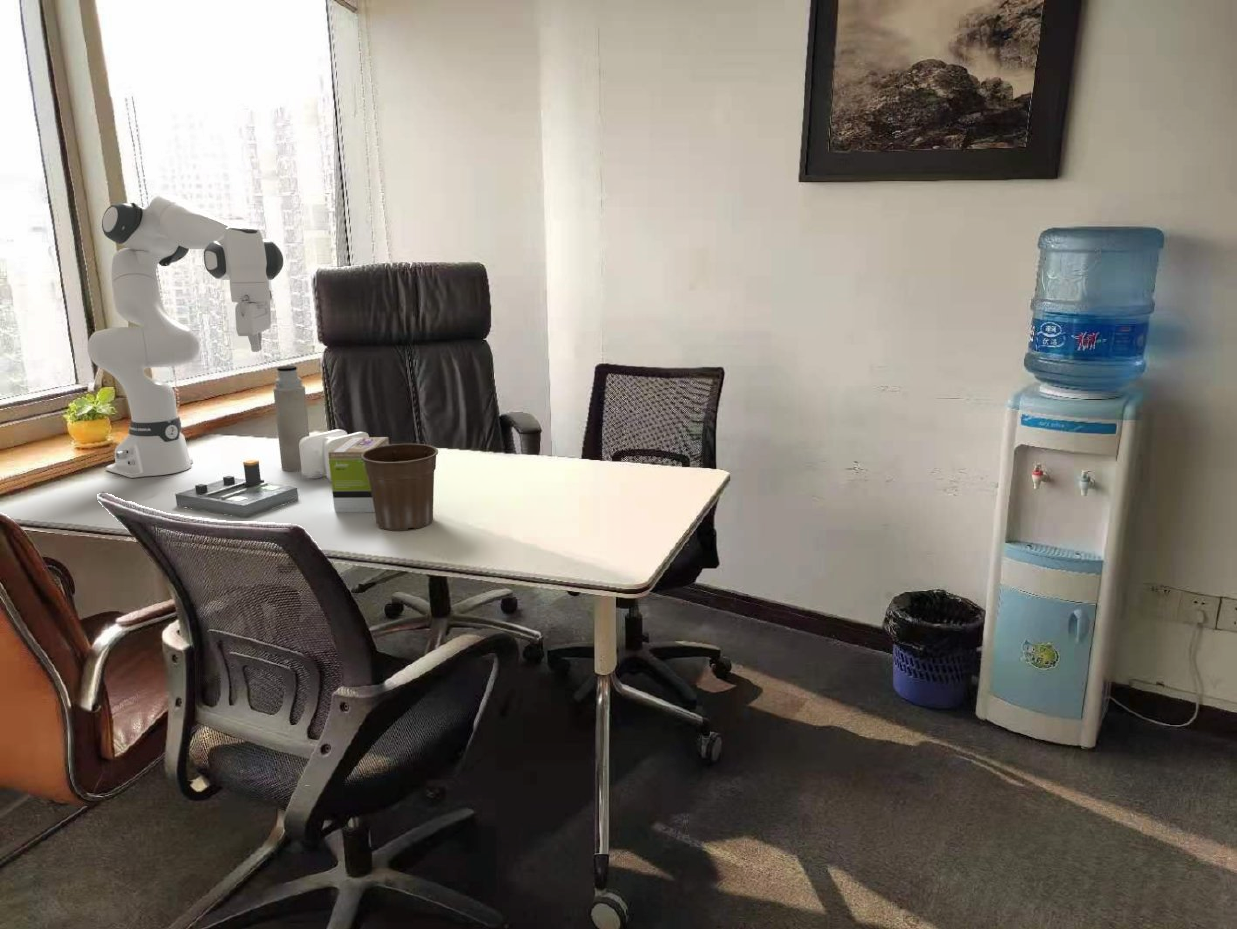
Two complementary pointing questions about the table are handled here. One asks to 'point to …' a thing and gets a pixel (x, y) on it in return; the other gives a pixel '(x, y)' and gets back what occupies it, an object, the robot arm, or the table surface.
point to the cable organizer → (321, 451)
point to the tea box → (352, 474)
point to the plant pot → (401, 484)
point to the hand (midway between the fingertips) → (256, 351)
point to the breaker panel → (236, 497)
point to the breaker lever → (252, 473)
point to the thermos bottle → (290, 416)
